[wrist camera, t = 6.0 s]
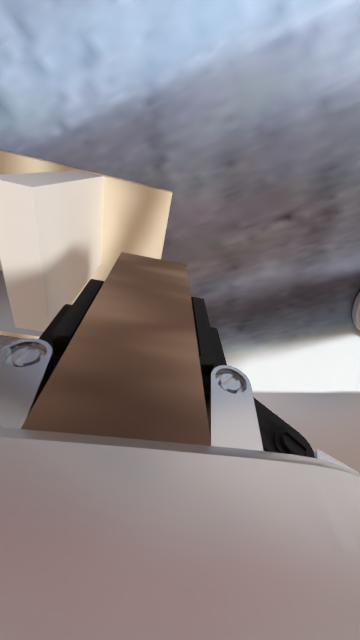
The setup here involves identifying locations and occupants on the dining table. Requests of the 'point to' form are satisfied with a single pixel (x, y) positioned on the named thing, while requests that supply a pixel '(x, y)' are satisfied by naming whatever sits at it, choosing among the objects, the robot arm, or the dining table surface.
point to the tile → (48, 241)
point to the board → (111, 214)
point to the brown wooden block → (131, 362)
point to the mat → (3, 318)
